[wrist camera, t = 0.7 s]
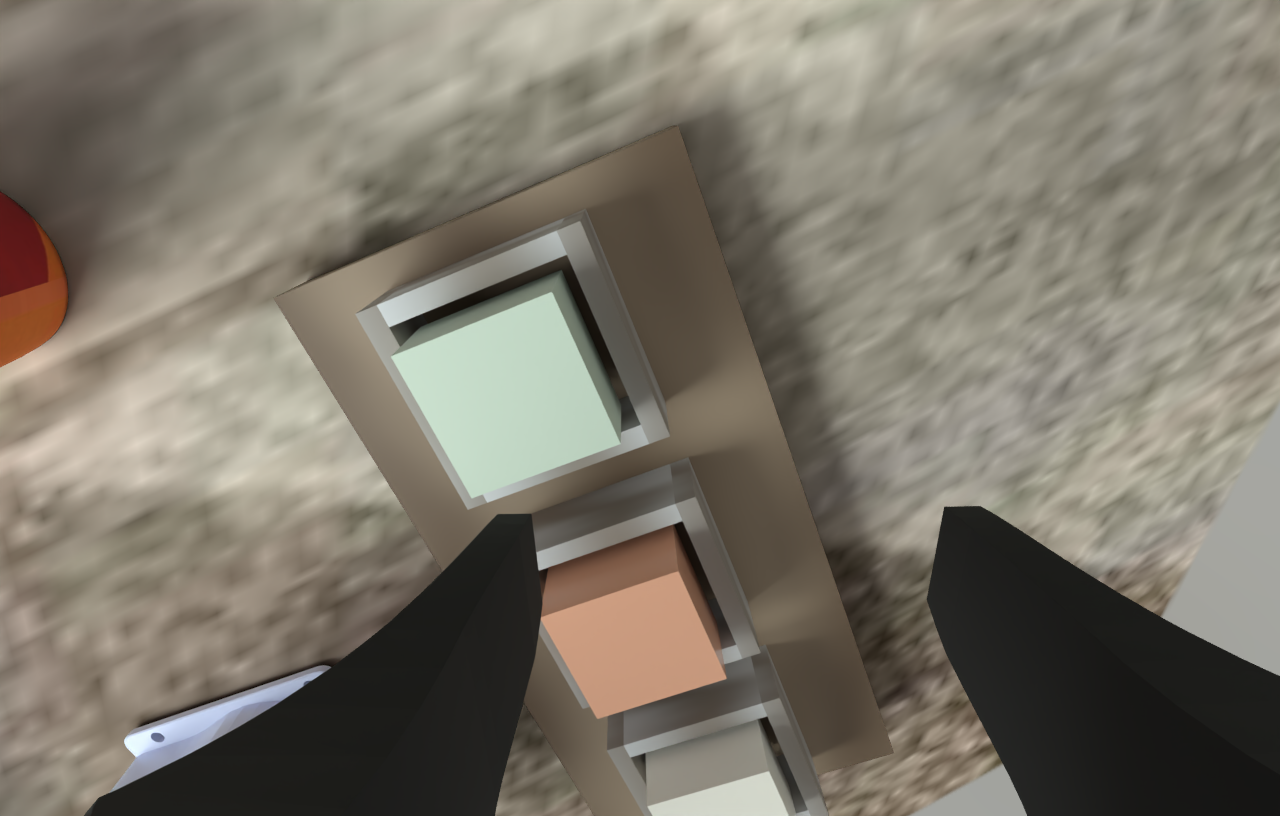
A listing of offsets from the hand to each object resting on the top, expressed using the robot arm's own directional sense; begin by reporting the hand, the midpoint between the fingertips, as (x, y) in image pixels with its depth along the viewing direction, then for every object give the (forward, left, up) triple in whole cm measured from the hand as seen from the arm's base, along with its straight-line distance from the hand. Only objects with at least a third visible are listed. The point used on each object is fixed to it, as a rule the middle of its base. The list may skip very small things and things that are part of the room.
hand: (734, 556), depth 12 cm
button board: (-4, -5, -11) cm, 13 cm away
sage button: (-4, +3, -7) cm, 9 cm away
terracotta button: (-4, -5, -7) cm, 10 cm away
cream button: (-4, -13, -7) cm, 16 cm away
